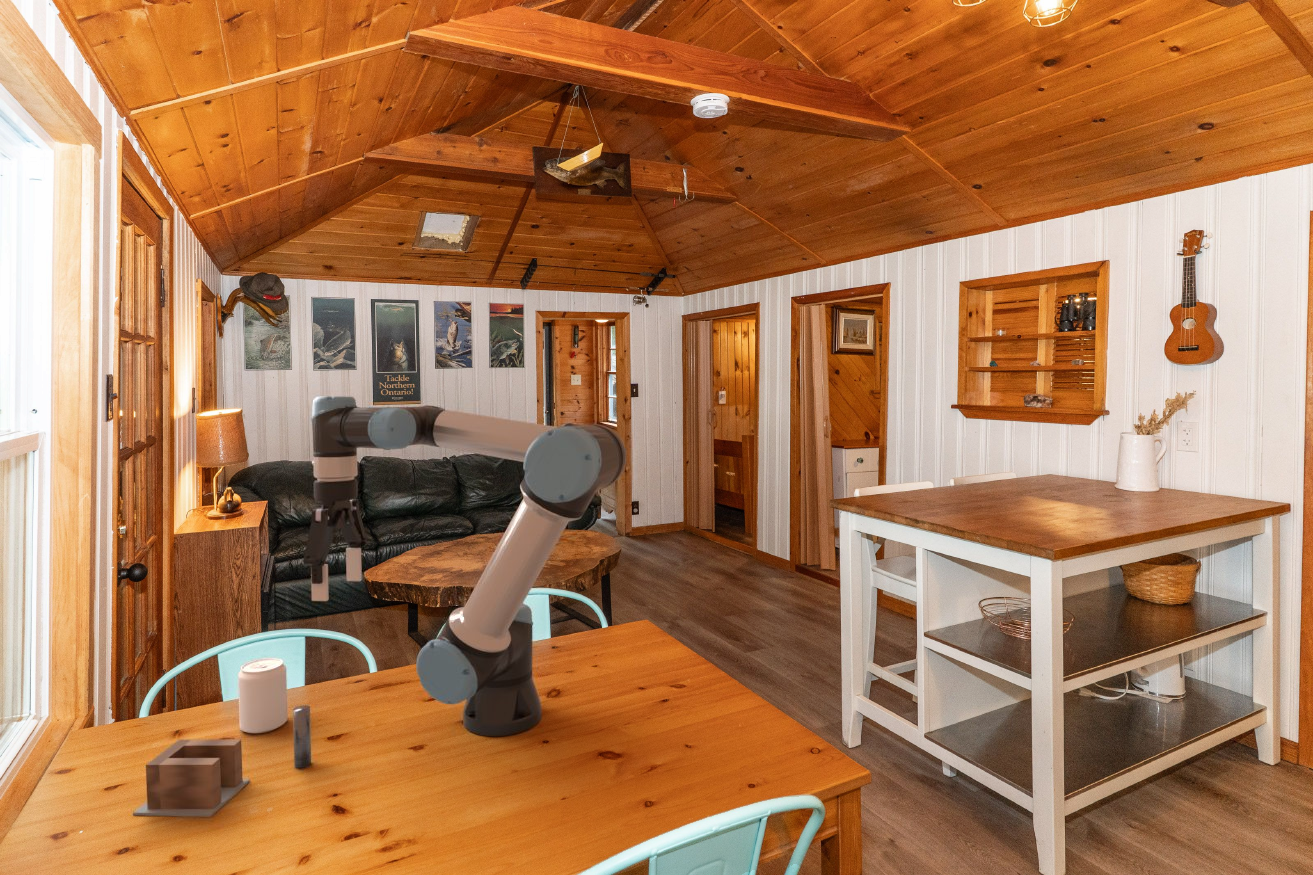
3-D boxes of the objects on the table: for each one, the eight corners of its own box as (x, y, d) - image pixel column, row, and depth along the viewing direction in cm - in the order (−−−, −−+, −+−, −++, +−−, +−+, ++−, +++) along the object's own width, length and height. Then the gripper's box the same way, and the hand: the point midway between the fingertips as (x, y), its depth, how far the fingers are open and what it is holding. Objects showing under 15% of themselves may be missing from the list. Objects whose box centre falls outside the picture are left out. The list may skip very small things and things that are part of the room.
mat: (249, 781, 119) (249, 778, 119) (210, 816, 109) (210, 814, 109) (178, 779, 119) (178, 777, 119) (132, 814, 109) (132, 812, 109)
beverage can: (267, 737, 134) (265, 674, 133) (229, 733, 136) (227, 670, 135) (297, 718, 142) (295, 658, 141) (261, 714, 143) (259, 655, 143)
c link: (147, 809, 110) (145, 764, 110) (180, 780, 118) (179, 739, 118) (213, 808, 110) (212, 764, 110) (242, 780, 118) (241, 739, 118)
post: (314, 761, 126) (312, 705, 125) (306, 769, 123) (305, 711, 122) (299, 760, 126) (298, 704, 125) (291, 768, 123) (290, 711, 122)
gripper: (346, 470, 148) (348, 573, 149) (279, 487, 123) (282, 609, 124) (382, 471, 148) (384, 573, 149) (322, 487, 123) (325, 610, 124)
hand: (338, 590), depth 137 cm, fingers open, 13 cm apart
